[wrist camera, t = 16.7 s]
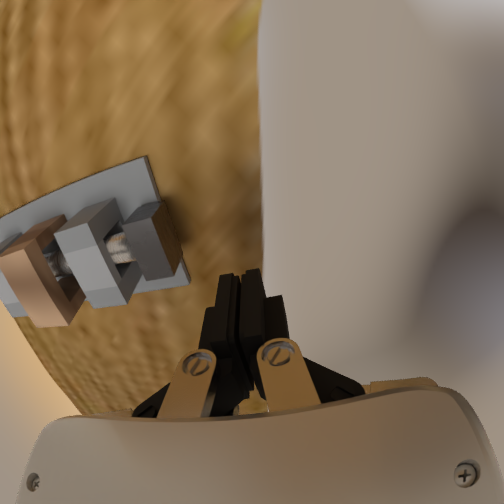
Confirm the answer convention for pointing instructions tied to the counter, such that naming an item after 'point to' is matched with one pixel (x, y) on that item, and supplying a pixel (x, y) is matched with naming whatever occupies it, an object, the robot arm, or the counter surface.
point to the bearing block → (91, 234)
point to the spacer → (41, 277)
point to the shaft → (138, 244)
